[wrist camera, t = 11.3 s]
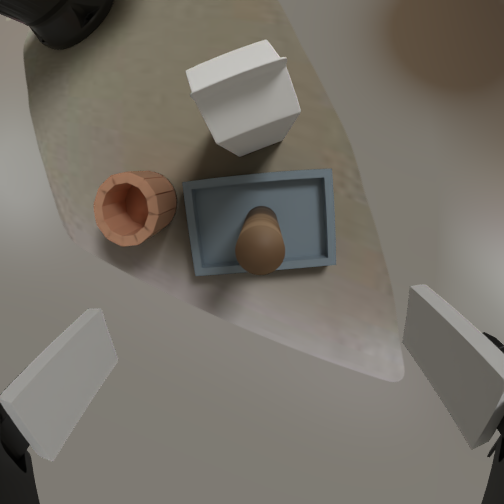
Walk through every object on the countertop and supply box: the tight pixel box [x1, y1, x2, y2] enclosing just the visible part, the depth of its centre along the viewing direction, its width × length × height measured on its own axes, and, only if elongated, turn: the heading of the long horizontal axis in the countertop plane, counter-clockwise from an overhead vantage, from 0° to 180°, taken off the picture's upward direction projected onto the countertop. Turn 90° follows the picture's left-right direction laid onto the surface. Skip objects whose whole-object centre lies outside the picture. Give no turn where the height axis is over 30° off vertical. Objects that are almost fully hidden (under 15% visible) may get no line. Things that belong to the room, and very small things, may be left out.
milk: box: [186, 40, 301, 157], centre depth 25 cm, size 6×6×22 cm
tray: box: [182, 169, 336, 276], centre depth 37 cm, size 12×18×3 cm, turn 96°
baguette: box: [235, 206, 285, 275], centre depth 31 cm, size 4×4×14 cm
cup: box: [94, 171, 177, 247], centre depth 35 cm, size 8×8×8 cm
